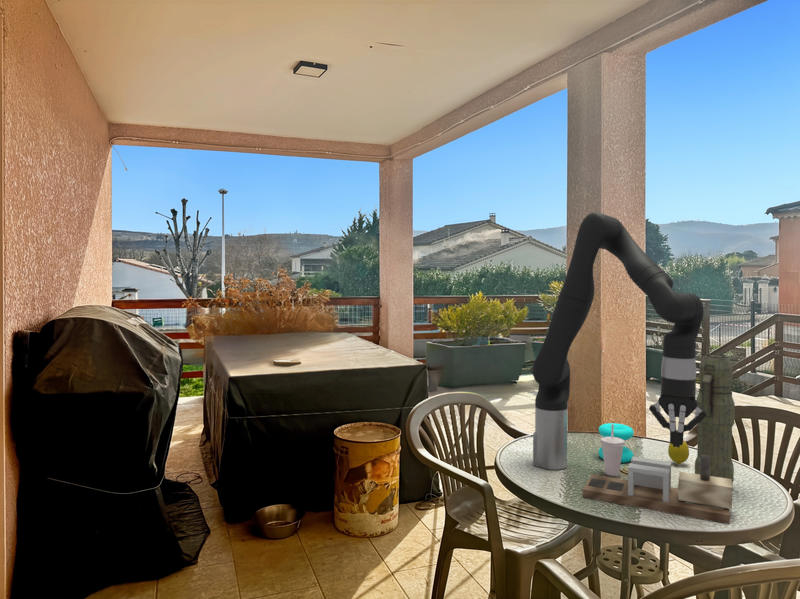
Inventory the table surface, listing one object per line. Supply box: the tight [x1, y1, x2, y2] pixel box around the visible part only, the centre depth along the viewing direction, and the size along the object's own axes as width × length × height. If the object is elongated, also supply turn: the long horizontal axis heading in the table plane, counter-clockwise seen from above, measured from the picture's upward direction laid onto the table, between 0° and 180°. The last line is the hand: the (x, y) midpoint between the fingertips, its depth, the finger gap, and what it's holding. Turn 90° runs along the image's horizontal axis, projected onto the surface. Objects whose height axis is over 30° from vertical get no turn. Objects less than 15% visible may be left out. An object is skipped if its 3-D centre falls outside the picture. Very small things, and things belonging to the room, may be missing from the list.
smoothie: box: [600, 424, 625, 477], centre depth 156 cm, size 6×6×14 cm
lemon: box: [667, 440, 690, 465], centre depth 163 cm, size 6×6×8 cm
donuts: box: [598, 422, 635, 464], centre depth 168 cm, size 10×10×10 cm
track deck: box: [582, 473, 731, 525], centre depth 137 cm, size 32×12×2 cm, turn 61°
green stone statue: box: [694, 353, 736, 492], centre depth 145 cm, size 9×12×35 cm
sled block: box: [677, 455, 733, 510], centre depth 131 cm, size 11×6×11 cm, turn 61°
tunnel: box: [627, 456, 672, 502], centre depth 137 cm, size 9×9×7 cm
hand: (676, 446), depth 134 cm, fingers closed
